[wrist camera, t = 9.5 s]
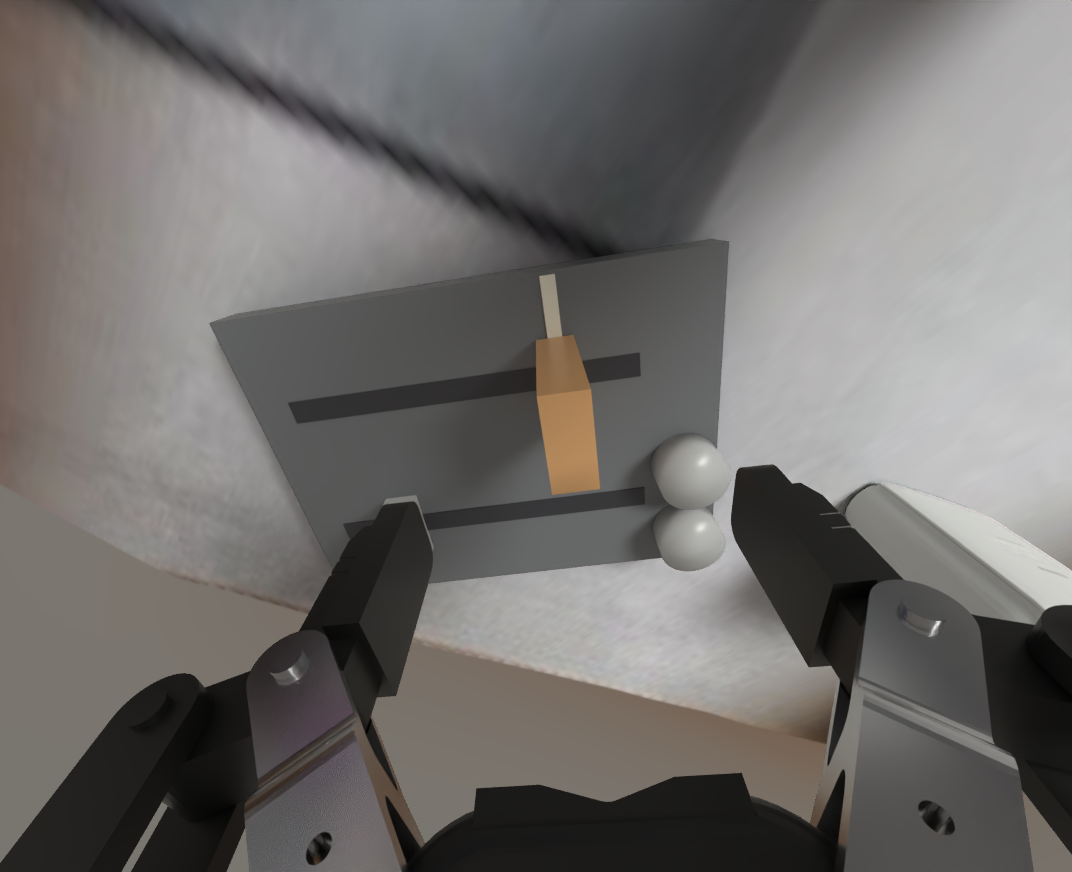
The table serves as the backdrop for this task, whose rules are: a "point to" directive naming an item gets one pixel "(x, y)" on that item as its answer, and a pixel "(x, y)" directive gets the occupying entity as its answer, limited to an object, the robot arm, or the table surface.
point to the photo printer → (959, 553)
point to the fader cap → (566, 416)
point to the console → (502, 410)
